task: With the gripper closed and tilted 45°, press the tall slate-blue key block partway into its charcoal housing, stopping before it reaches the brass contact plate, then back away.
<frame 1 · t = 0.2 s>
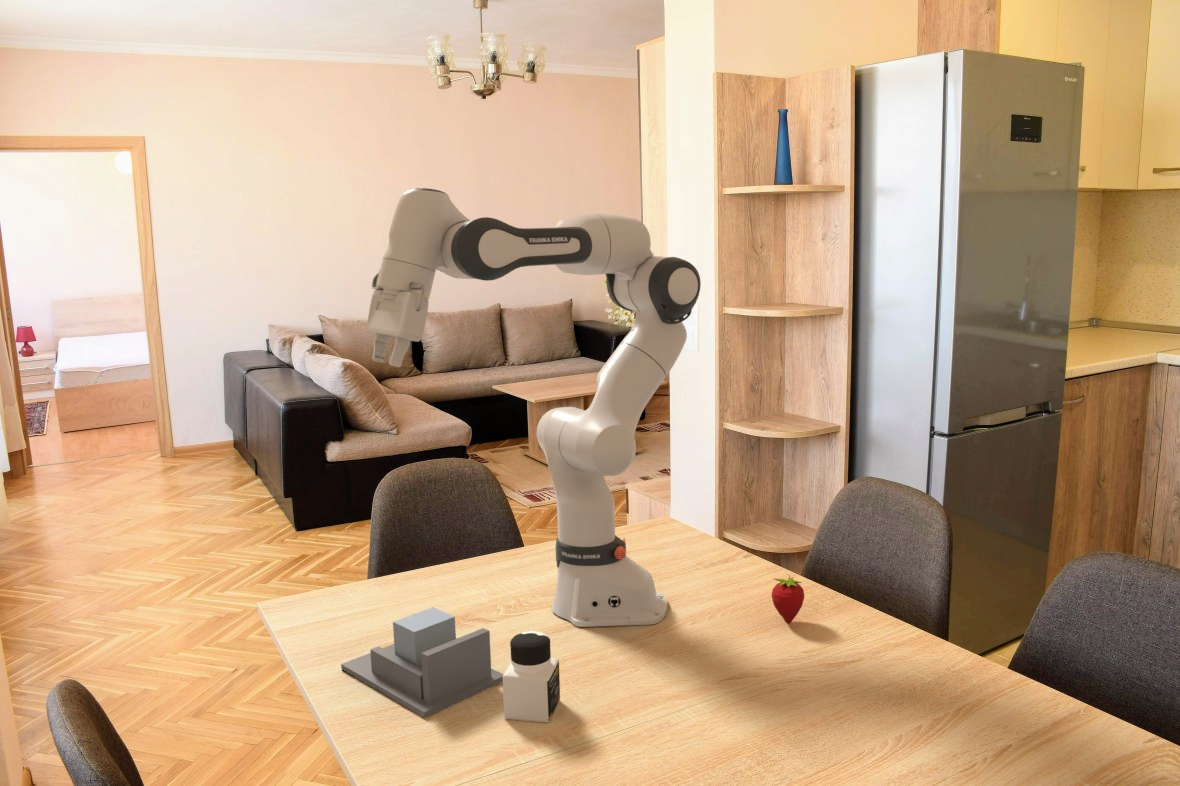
hand: (385, 364, 152), 51 cm above the table, tool tilted 20°, fingers open, 8 cm apart
strawberry: (787, 623, 170), on the table
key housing: (422, 675, 153), on the table
key block: (425, 645, 151), point 6 cm above the table, slide at 0.0 cm
medicine bottle: (532, 711, 141), on the table
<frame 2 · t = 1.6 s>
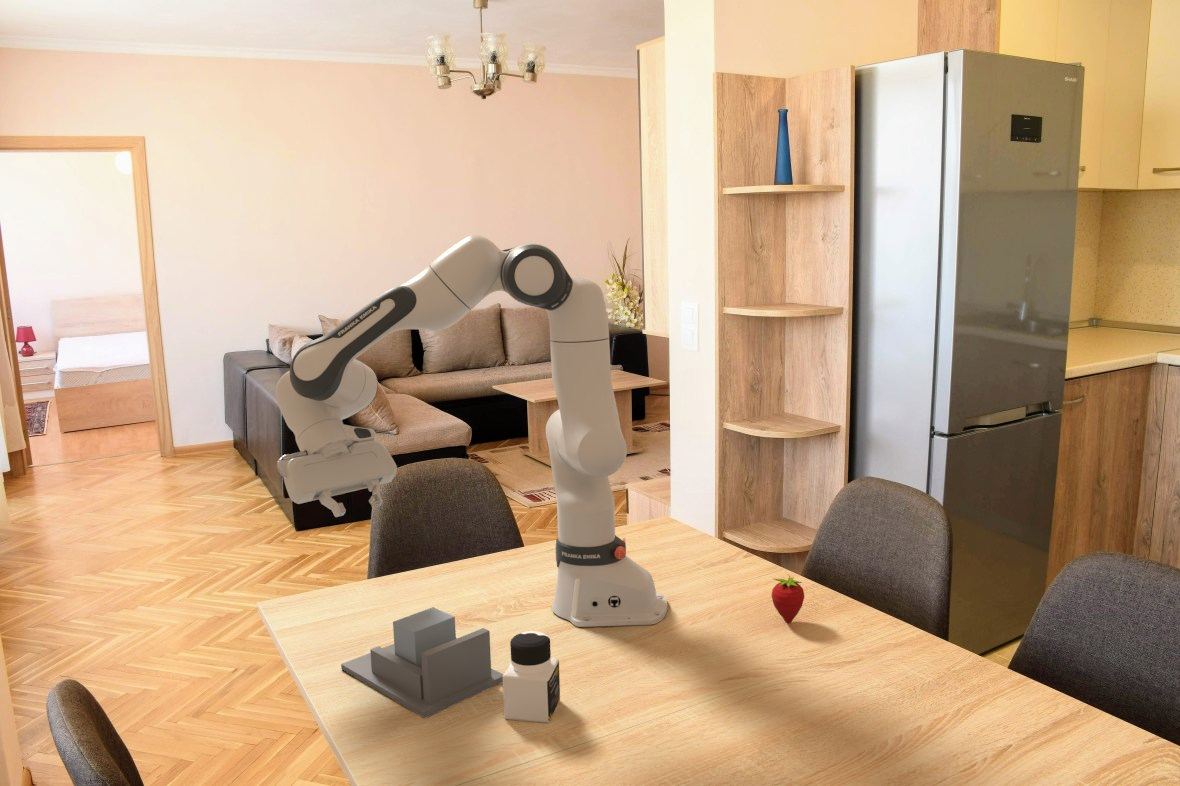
hand: (359, 509, 160), 25 cm above the table, tool tilted 45°, fingers open, 6 cm apart
nothing on the table moved.
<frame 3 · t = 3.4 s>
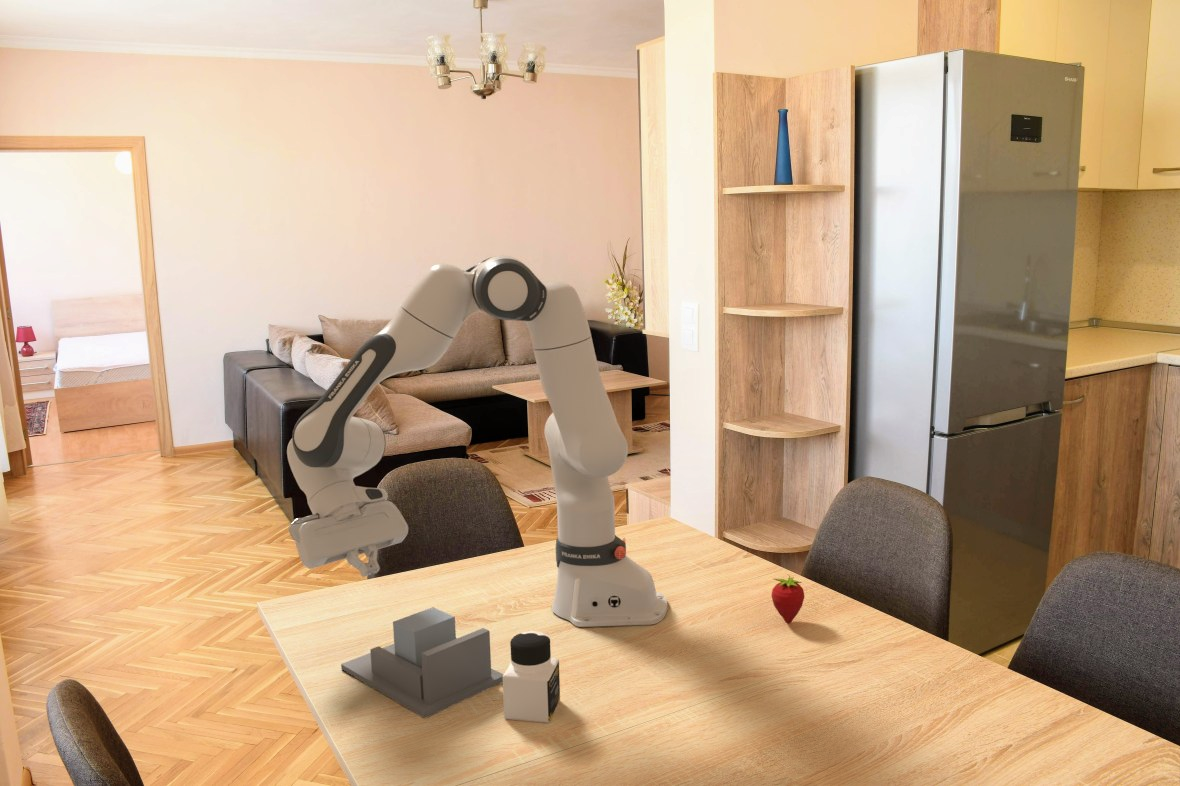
hand: (371, 573, 160), 14 cm above the table, tool tilted 45°, fingers closed
nothing on the table moved.
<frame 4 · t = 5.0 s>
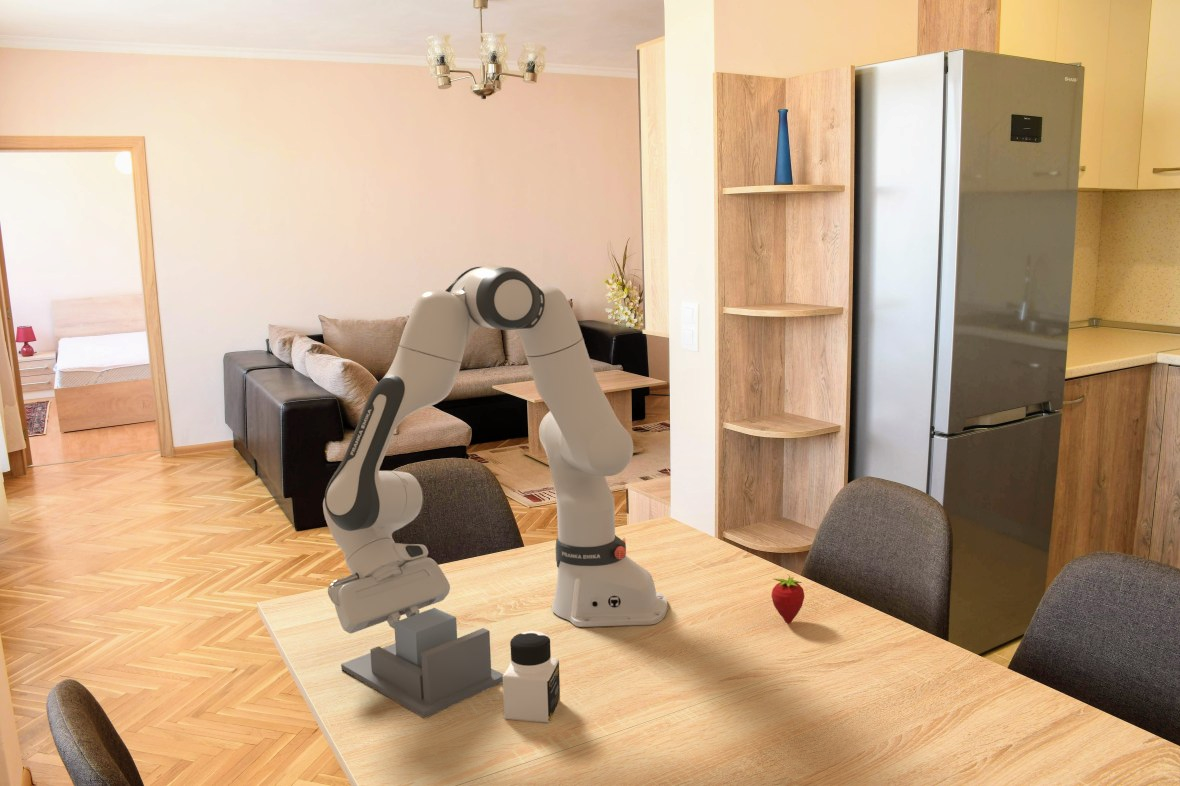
hand: (413, 636, 153), 6 cm above the table, tool tilted 45°, fingers closed, pressing on key block
key block: (426, 645, 151), point 6 cm above the table, slide at 0.4 cm, touching gripper
everything else where it was.
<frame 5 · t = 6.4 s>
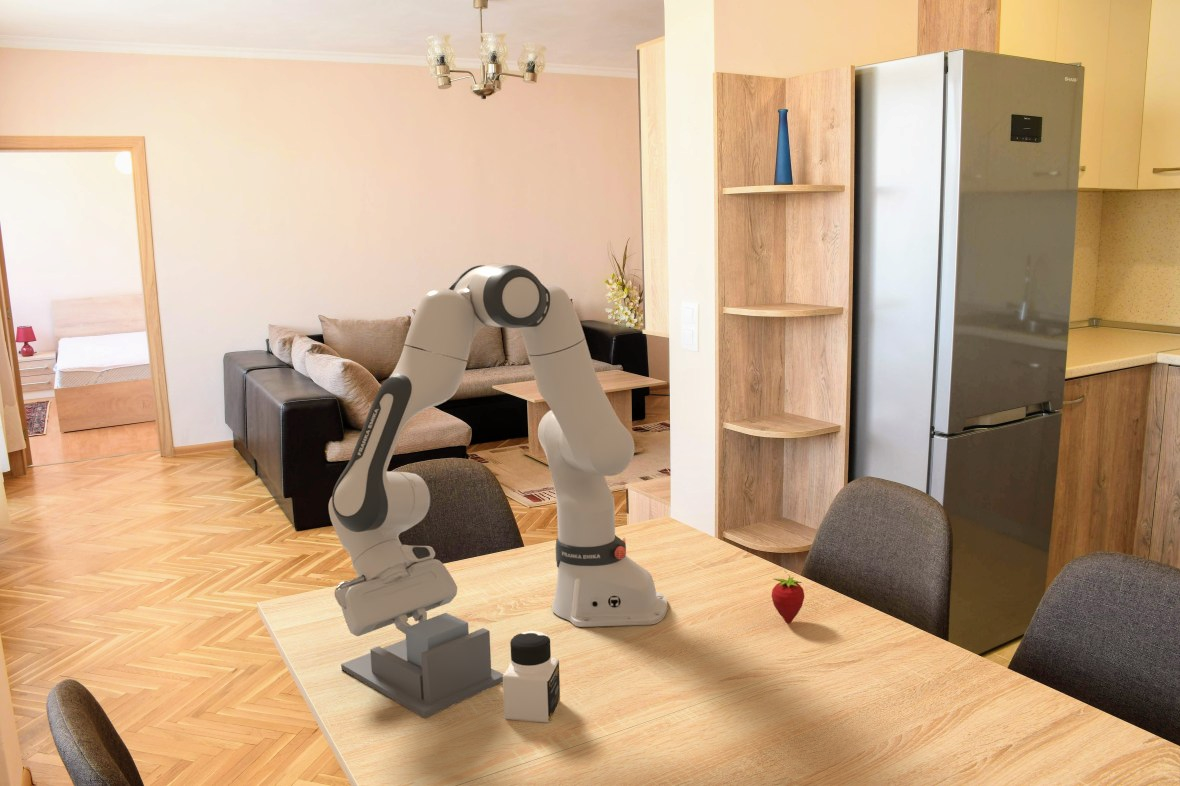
hand: (421, 638, 152), 7 cm above the table, tool tilted 45°, fingers closed
key block: (438, 651, 149), point 6 cm above the table, slide at 3.5 cm
everything else where it was.
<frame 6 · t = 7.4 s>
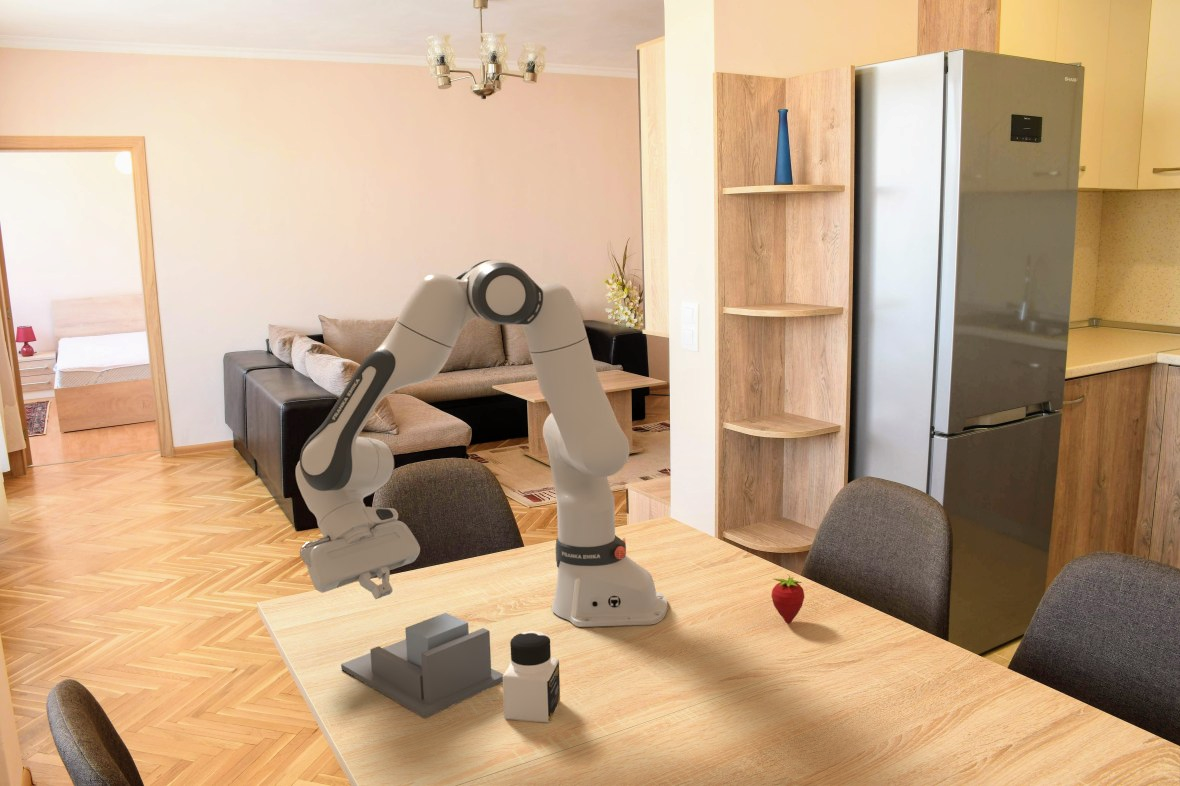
hand: (384, 595, 159), 11 cm above the table, tool tilted 45°, fingers closed
nothing on the table moved.
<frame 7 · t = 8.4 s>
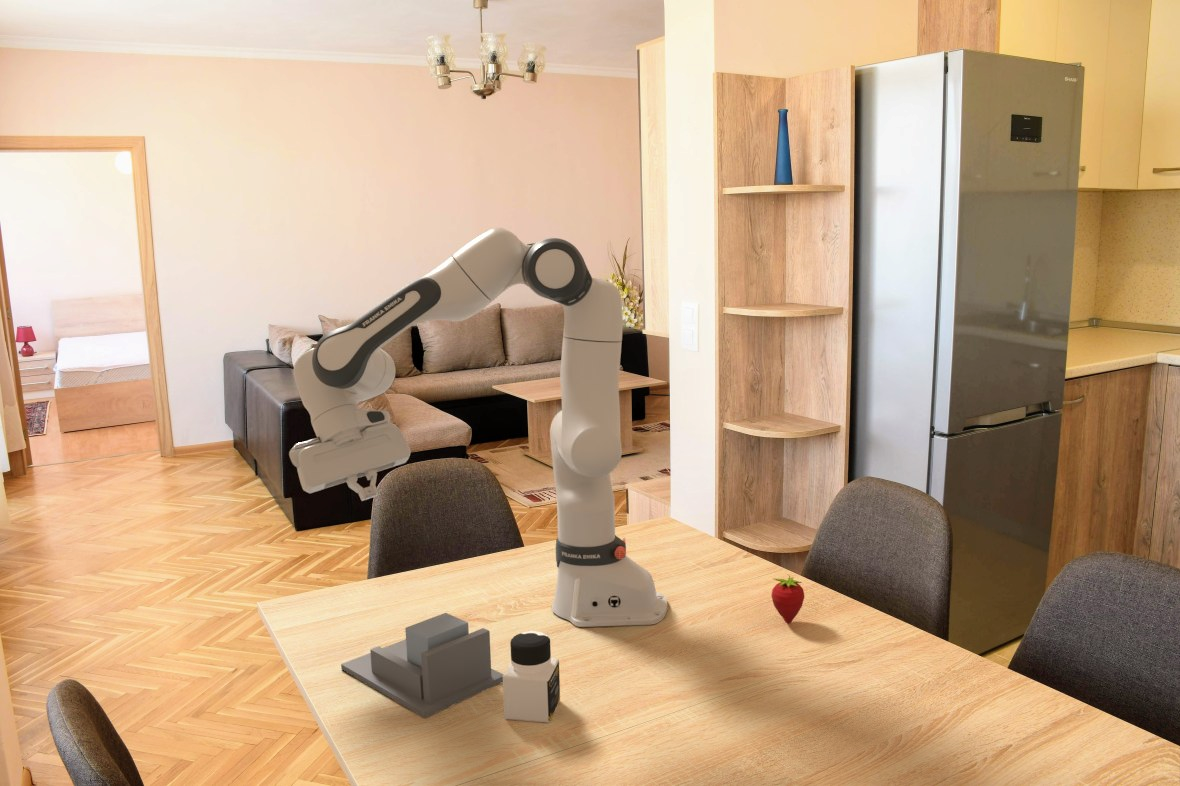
hand: (370, 497, 164), 26 cm above the table, tool tilted 35°, fingers closed
nothing on the table moved.
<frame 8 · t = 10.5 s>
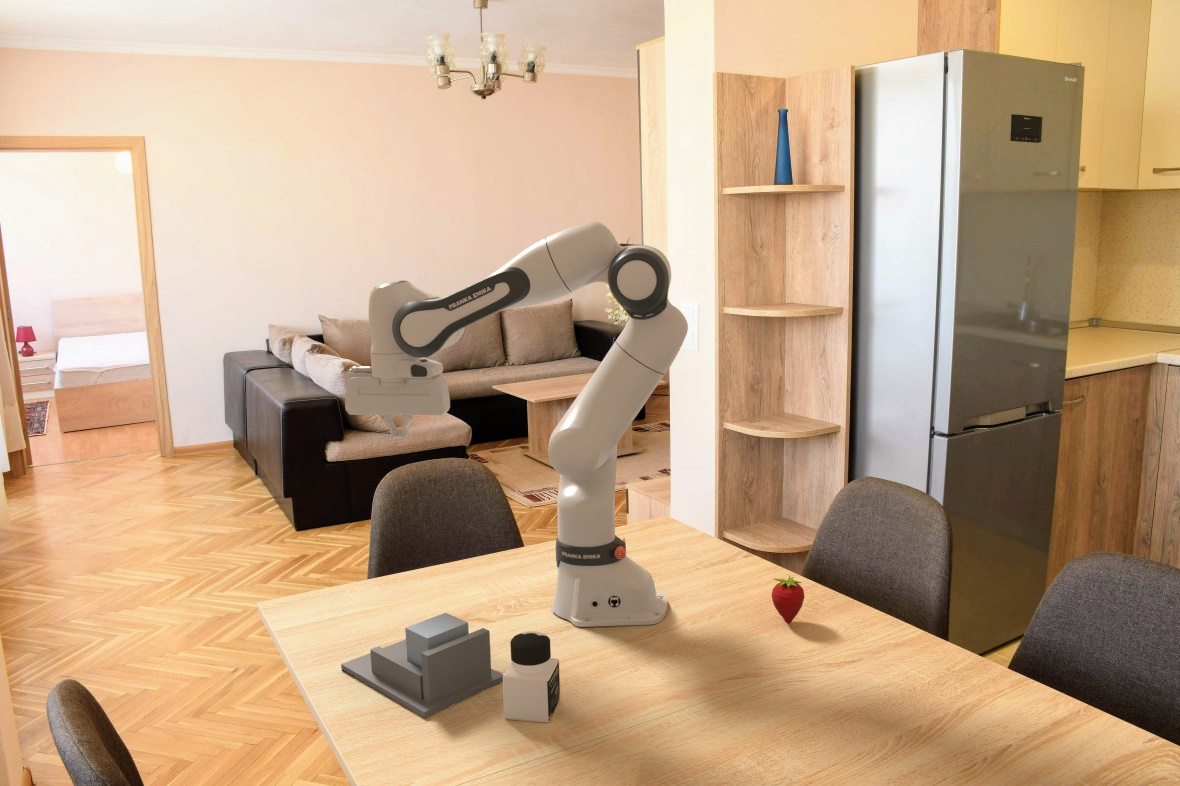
hand: (399, 437, 178), 34 cm above the table, tool pointing down, fingers closed
nothing on the table moved.
at the end: key block slide at 3.5 cm; medicine bottle moved 0.2 cm from its start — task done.
